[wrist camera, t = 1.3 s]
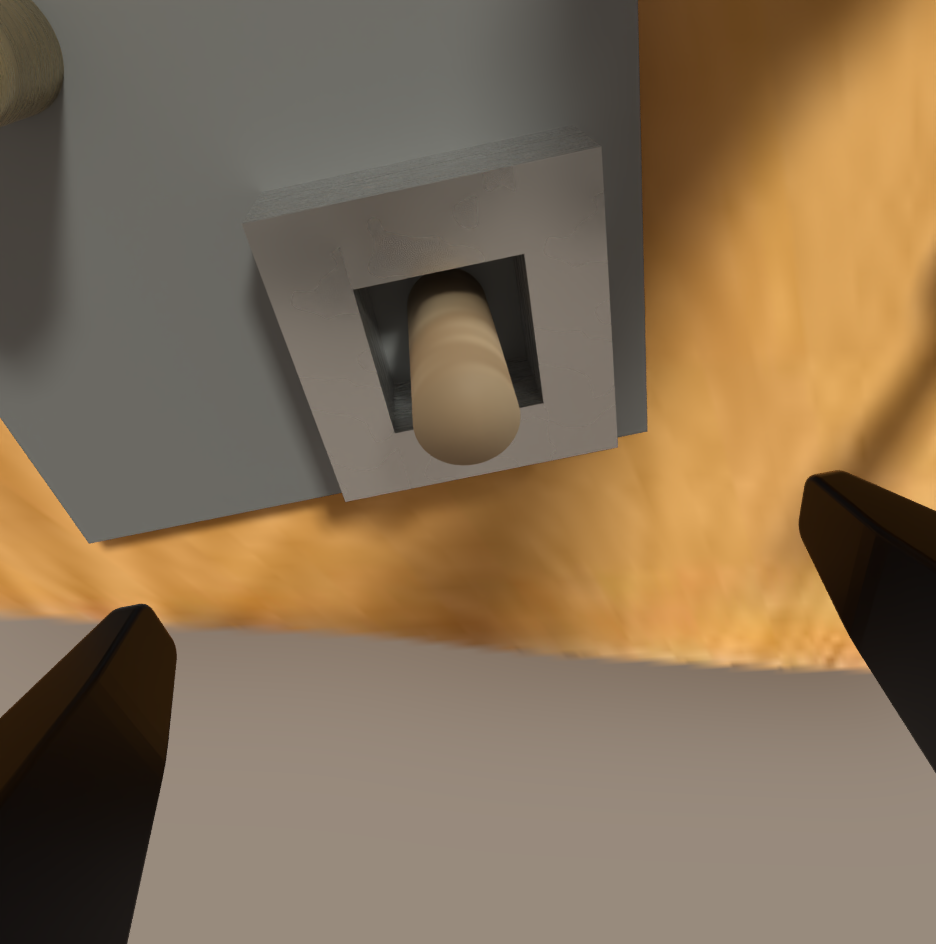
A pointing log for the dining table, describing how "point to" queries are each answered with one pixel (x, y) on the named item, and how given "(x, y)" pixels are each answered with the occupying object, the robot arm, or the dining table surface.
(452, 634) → the dining table surface
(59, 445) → the board
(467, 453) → the stand rod
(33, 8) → the brass knobbed cylinder
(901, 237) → the dining table surface
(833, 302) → the dining table surface
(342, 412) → the square hole block
